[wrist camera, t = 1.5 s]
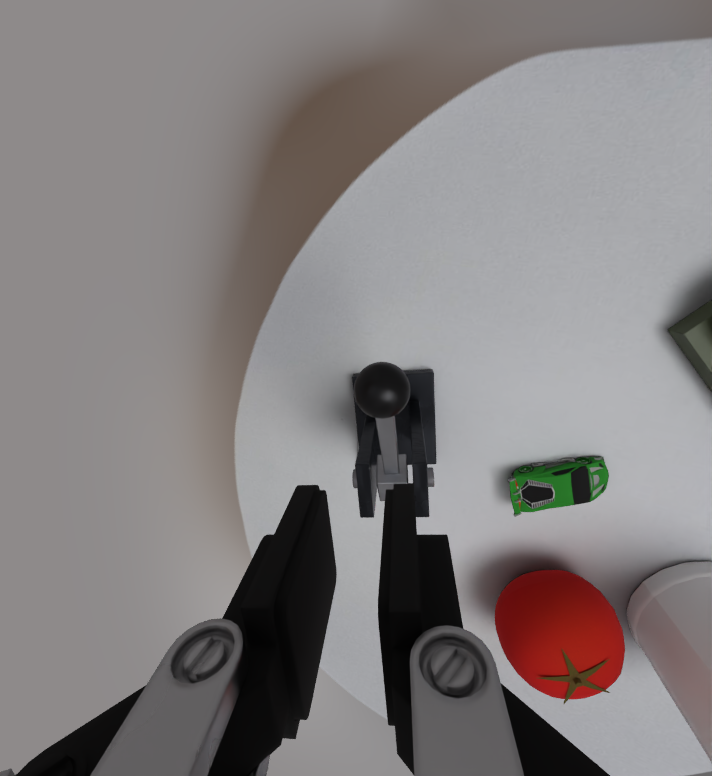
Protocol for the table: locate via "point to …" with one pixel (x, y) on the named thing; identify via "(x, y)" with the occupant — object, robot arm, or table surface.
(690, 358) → the button box
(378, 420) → the lever
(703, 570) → the bottle
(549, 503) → the toy car
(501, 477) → the table surface
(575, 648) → the tomato
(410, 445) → the bracket
